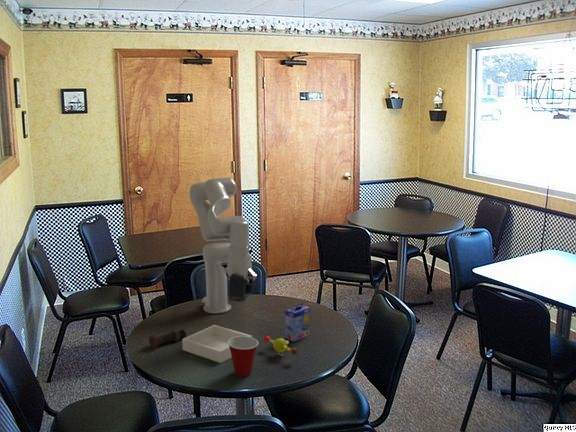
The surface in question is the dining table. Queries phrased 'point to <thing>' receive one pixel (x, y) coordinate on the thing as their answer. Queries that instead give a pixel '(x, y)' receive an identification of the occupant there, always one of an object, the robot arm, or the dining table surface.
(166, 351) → the dining table surface
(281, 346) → the toy figure
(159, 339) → the bolt
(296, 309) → the ink cartridge box
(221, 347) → the tray
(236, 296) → the small box
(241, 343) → the plastic cup
